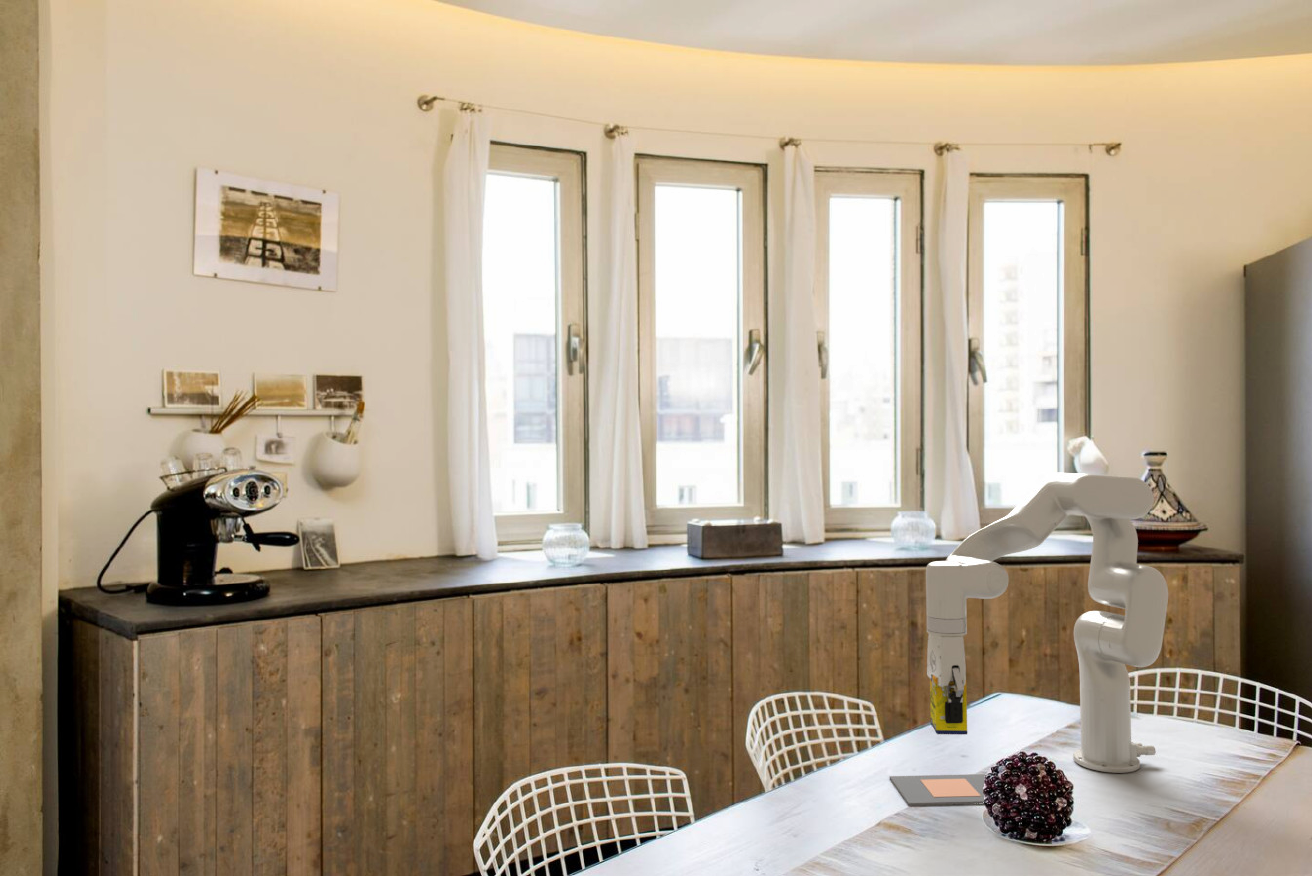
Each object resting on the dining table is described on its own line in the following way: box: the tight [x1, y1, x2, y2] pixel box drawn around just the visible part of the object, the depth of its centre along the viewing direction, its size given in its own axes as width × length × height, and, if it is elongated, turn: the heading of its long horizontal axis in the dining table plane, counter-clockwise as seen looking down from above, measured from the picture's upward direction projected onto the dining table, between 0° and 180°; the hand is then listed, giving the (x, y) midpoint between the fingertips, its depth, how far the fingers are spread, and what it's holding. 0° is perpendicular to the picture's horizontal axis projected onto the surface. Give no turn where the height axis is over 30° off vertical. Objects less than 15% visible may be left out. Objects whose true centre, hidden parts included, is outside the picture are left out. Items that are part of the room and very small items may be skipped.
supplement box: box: [929, 674, 968, 735], centre depth 183 cm, size 6×6×11 cm
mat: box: [889, 773, 986, 807], centre depth 183 cm, size 20×14×1 cm
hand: (948, 716), depth 183 cm, fingers closed on supplement box, 6 cm apart
